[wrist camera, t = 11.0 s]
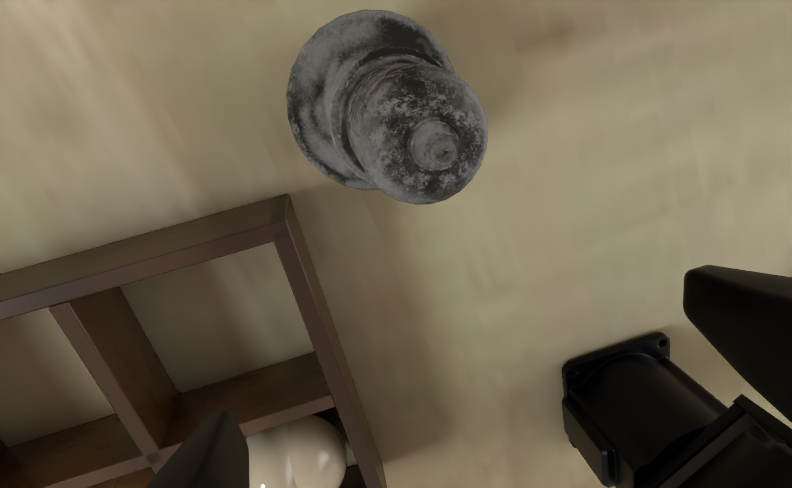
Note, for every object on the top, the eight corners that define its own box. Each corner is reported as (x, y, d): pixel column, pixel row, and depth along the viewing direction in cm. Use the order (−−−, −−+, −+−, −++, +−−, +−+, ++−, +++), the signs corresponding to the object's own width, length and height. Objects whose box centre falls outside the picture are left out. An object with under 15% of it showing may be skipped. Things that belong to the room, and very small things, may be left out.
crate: (288, 193, 20) (286, 219, 17) (382, 464, 27) (393, 520, 23) (-127, 309, 18) (-216, 363, 15) (86, 564, 25) (55, 638, 22)
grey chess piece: (304, 178, 20) (309, 332, 9) (274, 26, 17) (230, -22, 6) (437, 157, 20) (595, 275, 9) (426, 9, 18) (618, -60, 7)
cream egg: (329, 384, 24) (336, 450, 20) (352, 444, 26) (362, 516, 22) (207, 423, 23) (188, 500, 19) (239, 482, 25) (227, 563, 21)
